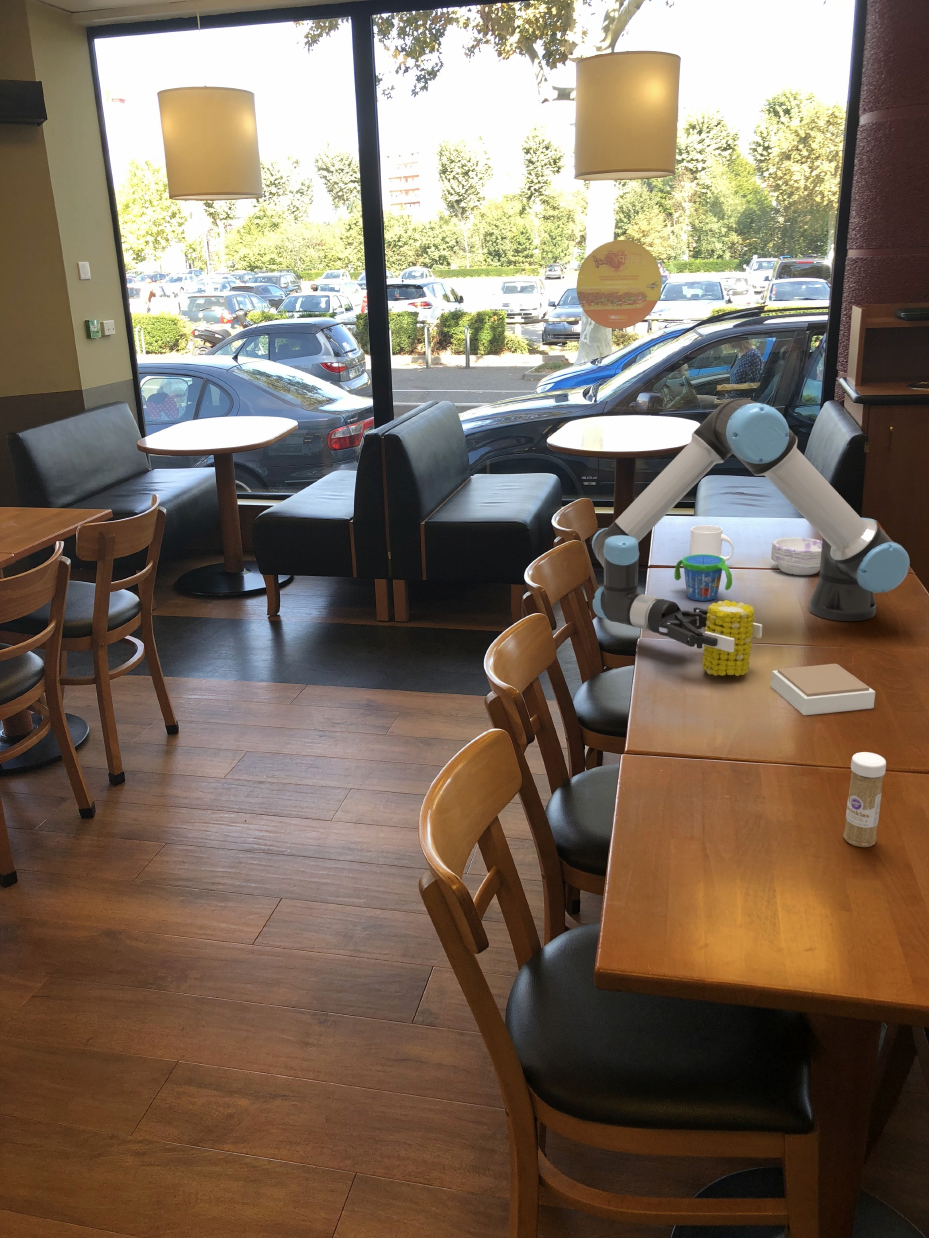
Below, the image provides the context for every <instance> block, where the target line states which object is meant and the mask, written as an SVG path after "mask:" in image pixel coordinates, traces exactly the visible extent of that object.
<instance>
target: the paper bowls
mask: <svg viewBox="0 0 929 1238" xmlns="http://www.w3.org/2000/svg"><path fill="white" fill-rule="evenodd" d="M821 550H822V540H819V539H815V538H809V537H796V536H795V537H792V536H791V537H781V538H777V539H775V540H773V541H772V543H771V555H770V556H771V560H772V561H773V562H775V563H777V566H778V568H779V570H780V571H781V572H783V573H785V574H788V575H792V574H793V575H794V576H811V575H815V574H817V573H818V572H820V562H821Z"/></svg>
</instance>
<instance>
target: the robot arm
mask: <svg viewBox="0 0 929 1238" xmlns="http://www.w3.org/2000/svg"><path fill="white" fill-rule="evenodd" d="M731 455H734V456H735V457H736V458H737V459H738V460H739V461H740V462H741V463H742V464H743V465H744V466H745V467H746V468H747V469H748V470H749V471H750V472H751V474H753V475H754V476H755V477H756V476H757V477H759V476H760V477H761V476H764V477H766V479H767V480H768V481H769V482H770V483H771V484H772V485H773V486H774V487H775V488H776V489H777V490H778V491H779V492H780V494H781V495H782V496H783V497H784V498H785V499H786V500H787V501H788V502H789V503H790V504H791V505H792V506H793V507H794V508H795V509H796V510H797V512H799V514H800V515H801V516H802V517H803V518H804V519H805V520H806V521H807V522H808V523H809V524H810V526H812V528H813V529H814V530H816V531H817V533H818V534H819V535H820V536H821V537H822V540H821V541H822V550H821V562H820V570H819V574H818V575H819V576H818V577H819V578H818V580H817V583H816V585H815V587H814V590H813V592H812V594H811V596H810V598H809V603H808V604H809V605H808V610H809V612H810V613H811V614H813V615H815V616H817V617H820V618H823V619H826V620H831V621H838V622H839V621H840V622H860V621H861V622H862V621H867V620H869V619H872V618H874V616H876V611H877V603H876V598H875V595H874V593H875V594H878V593H880V594H881V593H887V592H890V591H892V590H894V589H895V588H897V587H898V586H900V584H901V583H903V581H904V579H905V578H906V577H907V575H908V573H909V568H910V556H909V554H908V551H906V549H905V548H904V547H903V546H902V545H901V544H899V543H898V542H894V541H893V540H892V539H891V538H890V537H889V536H888V535H887V534H886V533H885V531H883V529H882V528H881V527H880V526H879V525H878V522H877V520H875V519H872V518H870V517H860V515H859V514H858V513H857V512H856V511H855V510H854V509H853V508H852V506H851V505H850V504H849V503H848V502H847V501H846V500H845V499H844V498H843V497H842V496H841V494H839V493H838V491H837V490H836V489H835V488H834V487H833V486H832V485H831V484H830V483H829V481H828V480H826V478H825V477H824V476H823V475H822V474H821V473H820V471H818V469H817V468H816V467H815V466H814V465H813V464H812V463H811V462H810V461H809V460H808V459H807V457H805V456H804V454H803V453H802V452H801V451H800V450H799V449H798V437H797V436H796V435H795V434H794V432H793V431H792V430H791V429H790V428H789V425H788V422H787V420H786V418H785V417H784V416H783V414H782V413H781V412H780V411H778V410H777V409H776V408H775V407H773V406H771V405H768V404H765V403H760V402H756V401H754V400H753V399H750V398H745V397H739V398H738V397H737V398H732V399H730V400H727V401H725V402H724V403H722V404H720V405H719V406H718V407H717V408H716V409H714V410H713V411H712V412H711V413H710V414H709V415H708V416H707V417H706V418H705V419H704V420H703V421H702V422H701V424H700V425H699V426H698V427H697V428H696V429H695V430H694V431H693V432H692V433H691V440H690V442H689V443H688V444H687V445H686V446H685V447H684V448H683V449H682V450H681V451H680V452H679V453H678V454H677V455H676V456H675V457H674V459H673V460H672V461H670V463H669V464H668V465H667V466H666V467H665V468H664V469H663V470H662V471H661V472H660V473H659V474H658V475H657V476H656V477H655V478H654V479H653V480H652V482H651V483H650V484H649V485H647V487H646V488H645V489H644V490H643V491H642V492H641V493H640V494H639V495H638V496H637V498H635V499H634V500H633V502H632V503H630V505H629V506H628V507H627V508H626V509H625V510H624V511H623V512H622V513H621V514H620V515H619V516H618V518H616V519H615V520H614V521H613V522H612V523H611V524H610V525H609V526H608V527H606V528H605V527H604V528H602V529H600V530H598V531H597V532H596V533H595V534H594V536H593V537H592V541H591V547H592V550H593V551H592V552H593V553H594V556H595V558H596V559H597V560H598V562H599V563H600V564H601V567H603V585H602V586H600V587H599V588H597V590H596V591H595V593H594V599H593V600H592V609H593V611H594V613H595V615H596V616H598V617H600V618H601V619H604V620H607V621H609V622H613V623H617V624H618V623H619V624H622V625H627V626H630V627H633V628H636V629H637V628H638V629H642V631H643V632H647V631H649V632H652V633H655V634H659V636H663V637H668V638H670V639H672V640H674V641H677V642H678V643H681V644H683V645H685V646H688V647H690V648H694V647H695V646H696V649H703V646H704V645H706V646H710V647H714V648H717V649H721V650H725V651H728V652H734V640H735V639H734V638H730V637H726V636H722V635H718V634H714V633H711V632H707V631H706V630H705V631H706V632H705V631H704V632H702V631H701V630H702V628H705V627H706V626H707V625H706V621H707V613H708V609H704V608H701V607H694V608H693V611H690V610H682V609H681V608H680V606H679V605H678V603H677V602H675V601H672V600H668V599H664V598H659V597H657V596H653V595H647V594H643V593H639V591H638V587H639V586H638V585H639V583H638V582H639V558H640V557H639V556H640V551H639V542H640V541H641V540H642V539H643V538H644V537H646V536H647V534H648V533H649V532H650V531H651V530H652V529H654V527H655V526H657V524H658V523H659V522H660V521H661V520H662V519H663V518H664V517H665V516H666V515H667V514H668V513H669V512H670V511H671V510H672V509H673V508H675V506H676V505H677V504H678V503H679V502H680V500H682V499H683V498H684V496H686V495H687V493H689V492H690V491H691V490H692V488H693V487H694V486H695V485H696V484H697V483H698V482H699V481H700V480H701V479H702V478H703V477H704V476H705V475H706V474H707V473H708V472H709V471H710V470H711V469H712V468H713V467H714V465H716V464H722V463H724V462H725V461H727V459H728V458H729V457H730V456H731ZM752 629H753V633H752V637H754V638H757V639H761V638H762V636H763V635H762V634H763V624H761V623H756V622H754V623H753V628H752Z"/></svg>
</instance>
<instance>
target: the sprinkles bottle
mask: <svg viewBox="0 0 929 1238" xmlns="http://www.w3.org/2000/svg"><path fill="white" fill-rule="evenodd" d="M886 769H887V761H886V759H885V757H883V756H881V755H880V754H877V753H874V752H868V751H862V752H861V751H860V752H856V753H855V754H853V756H852V757H851V763H850V770H851V775H850V783H849V791H848V798H847V803H846V812H845V813H846V814H845V819H846V820H845V825H844V832H843V838H844V840H845V841H846V842H847V843H849V844H850V845H852V846H855V847H858V848H859V847H860V848H869V847H872V846H874V845H875V844H876V842H877V831H878V830H877V829H878V825H879V820H880V819H879V817H880V808H881V801H882V792H883V791H882V789H883V781H884V776H885V774H886Z"/></svg>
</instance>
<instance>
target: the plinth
mask: <svg viewBox="0 0 929 1238" xmlns="http://www.w3.org/2000/svg"><path fill="white" fill-rule="evenodd" d="M770 688H772V689H773V690H774V691H776V693H777V694H779V695H780V696H781V697H782V698H783V699H784V700H786V701H787V702H788V703H789V704H791V705H792V707H793V708H795V709H796V710H797V711H798V712H800V713H801V715H803V716H810V715H819V714H820V715H821V714H829V713H839V712H849V711H860V710H867V709H868V710H870V709H874V708H875V706H874V705H875V697H876V691H875V690H874V689H872V688H871V687H870V686H868V685H867V684H865V682H862V681H861V680H859V679H858V677H856V676H855V675H853V674H852V673H850V672H849V671H847V670H846V669H845V668H843V667H842V666H840V665H839V664H837V663H829V664H819V665H808V666H797V667H789V668H788V667H787V668H778V669H776V670H772V671H771V680H770Z"/></svg>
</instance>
